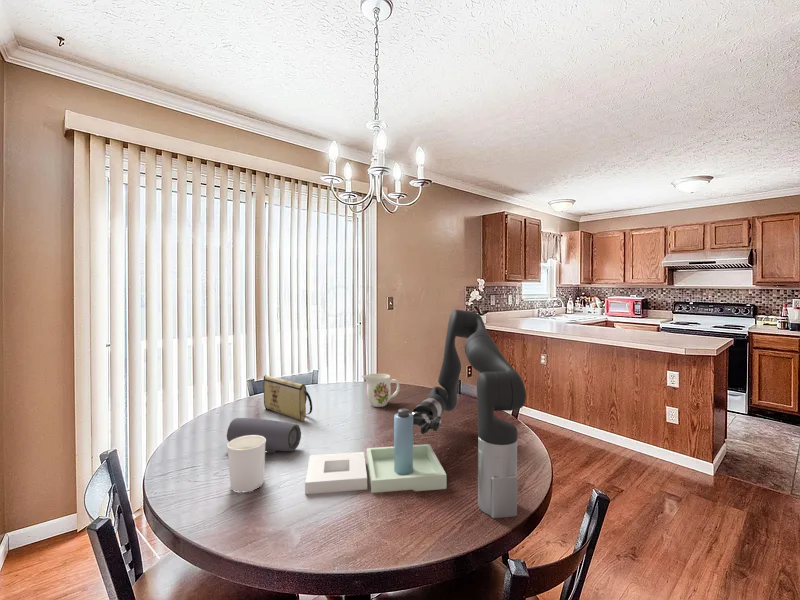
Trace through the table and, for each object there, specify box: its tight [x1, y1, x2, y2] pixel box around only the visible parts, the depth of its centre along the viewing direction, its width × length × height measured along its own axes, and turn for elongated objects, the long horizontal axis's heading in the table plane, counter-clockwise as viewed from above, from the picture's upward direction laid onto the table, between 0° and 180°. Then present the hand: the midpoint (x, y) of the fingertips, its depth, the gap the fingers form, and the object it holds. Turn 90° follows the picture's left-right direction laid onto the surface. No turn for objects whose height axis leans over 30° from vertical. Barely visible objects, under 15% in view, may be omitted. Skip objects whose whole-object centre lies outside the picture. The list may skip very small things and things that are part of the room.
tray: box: [366, 443, 447, 494], centre depth 111 cm, size 20×20×4 cm
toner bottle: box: [393, 408, 414, 475], centre depth 111 cm, size 6×6×18 cm
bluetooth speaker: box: [226, 417, 302, 453], centre depth 127 cm, size 23×9×10 cm, turn 74°
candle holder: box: [226, 435, 266, 492], centre depth 104 cm, size 10×10×12 cm
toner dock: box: [304, 451, 368, 495], centre depth 108 cm, size 16×16×4 cm
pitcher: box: [361, 373, 400, 408], centre depth 175 cm, size 11×18×14 cm, turn 111°
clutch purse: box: [263, 374, 313, 422], centre depth 163 cm, size 30×7×15 cm, turn 52°
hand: (408, 428), depth 114 cm, fingers open, 8 cm apart
